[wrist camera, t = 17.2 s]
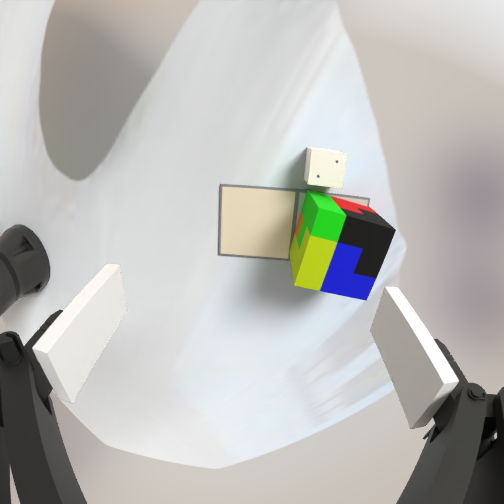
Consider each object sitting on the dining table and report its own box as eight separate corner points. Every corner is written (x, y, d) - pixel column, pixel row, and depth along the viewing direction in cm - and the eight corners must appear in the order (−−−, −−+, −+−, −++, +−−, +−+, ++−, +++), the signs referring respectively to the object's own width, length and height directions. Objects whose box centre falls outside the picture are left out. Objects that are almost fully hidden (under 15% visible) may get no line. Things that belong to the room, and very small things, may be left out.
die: (303, 178, 40) (307, 184, 36) (307, 146, 38) (311, 148, 34) (334, 182, 40) (342, 189, 36) (338, 151, 38) (347, 153, 34)
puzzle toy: (348, 266, 45) (366, 300, 36) (289, 252, 44) (294, 285, 35) (369, 207, 41) (395, 229, 32) (307, 189, 40) (318, 207, 31)
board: (218, 254, 45) (218, 255, 45) (220, 184, 41) (220, 184, 41) (356, 264, 45) (357, 265, 45) (369, 198, 40) (370, 198, 40)
